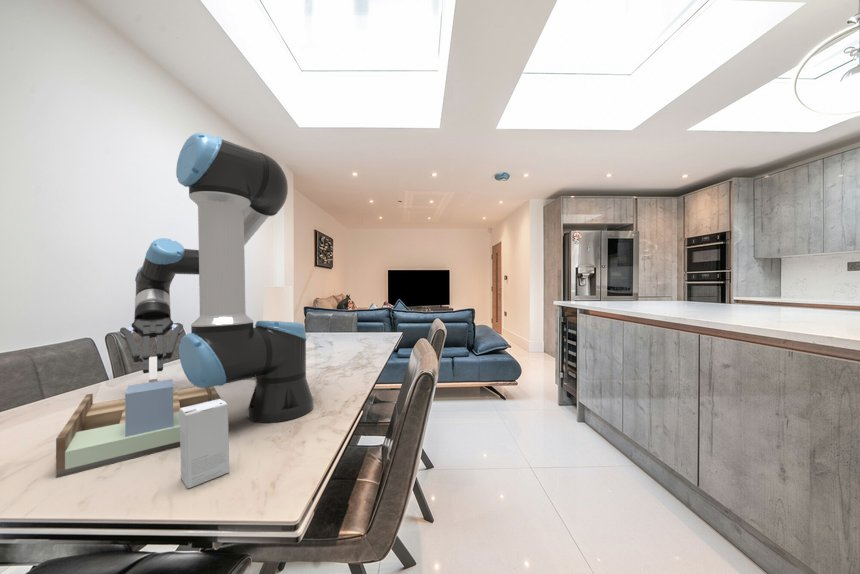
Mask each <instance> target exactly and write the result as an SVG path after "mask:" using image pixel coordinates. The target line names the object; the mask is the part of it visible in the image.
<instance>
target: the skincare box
mask: <svg viewBox="0 0 860 574" xmlns="http://www.w3.org/2000/svg"><path fill="white" fill-rule="evenodd" d="M179 412H180V447H179V449H180V479H181V480H182V482H183V484H184V486H185V487H186V488H187V489H191V488H193V487H195V486H198V485H200V484H203V483H206V482H208V481H211V480H213V479H217V478H218V477H221V476H223V475H225V474H229V473H230V449H229V447H230V444H229V442H230V441H229V404H228V403H227V402H226V401H225V400H223V399H222V398H221V399H217V400H213V401H209V402H204V403H200V404H196V405H192V406H188V407H183V408H180V410H179Z"/></svg>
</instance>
